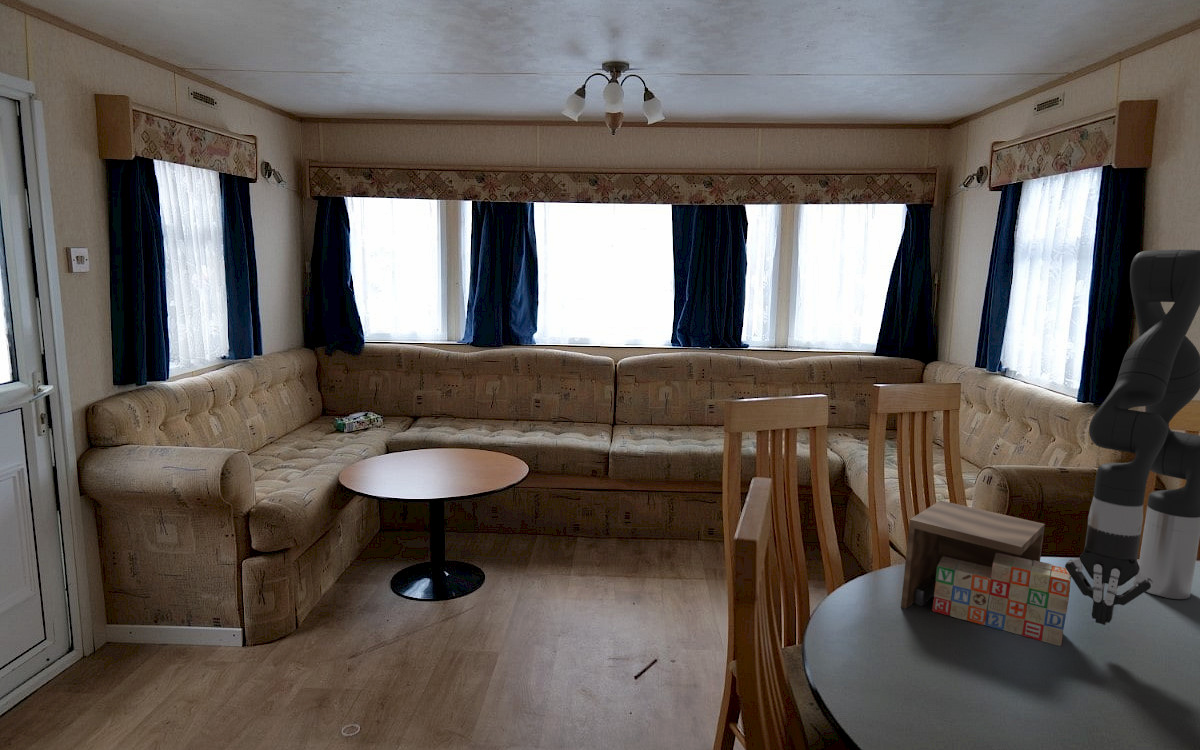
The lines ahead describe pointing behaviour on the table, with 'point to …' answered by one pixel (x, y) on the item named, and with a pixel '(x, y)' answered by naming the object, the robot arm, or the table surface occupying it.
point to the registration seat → (925, 591)
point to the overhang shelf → (964, 541)
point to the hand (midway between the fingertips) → (1100, 622)
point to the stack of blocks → (1005, 595)
